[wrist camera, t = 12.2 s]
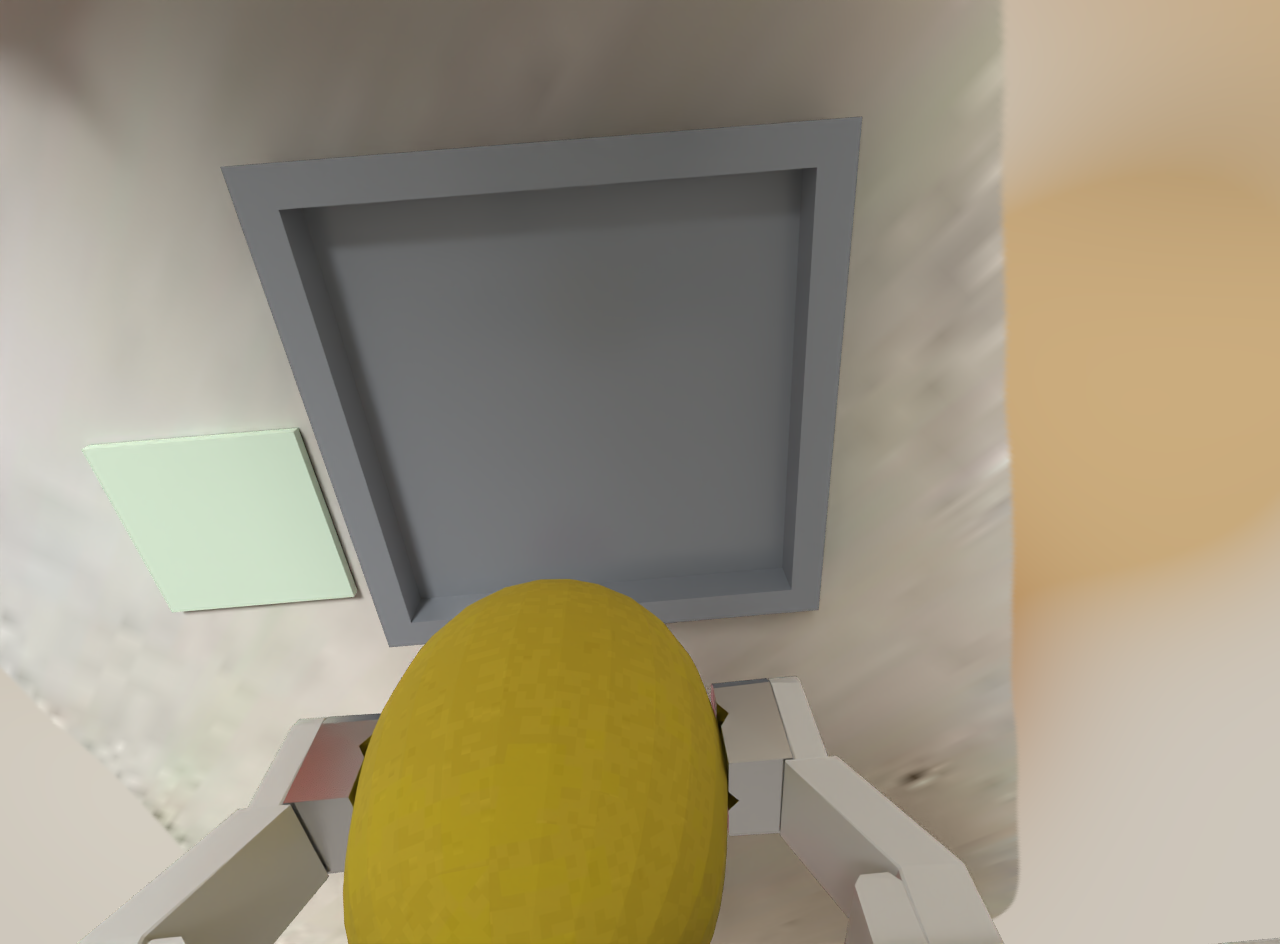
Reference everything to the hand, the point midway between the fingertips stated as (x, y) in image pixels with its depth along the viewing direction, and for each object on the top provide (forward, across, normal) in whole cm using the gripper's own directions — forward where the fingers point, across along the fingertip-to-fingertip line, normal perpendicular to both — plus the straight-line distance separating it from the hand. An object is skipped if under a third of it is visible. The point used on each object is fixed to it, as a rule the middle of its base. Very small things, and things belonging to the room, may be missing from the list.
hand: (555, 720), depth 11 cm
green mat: (+15, +15, +4) cm, 21 cm away
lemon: (+3, 0, 0) cm, 3 cm away
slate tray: (+15, 0, 0) cm, 15 cm away
